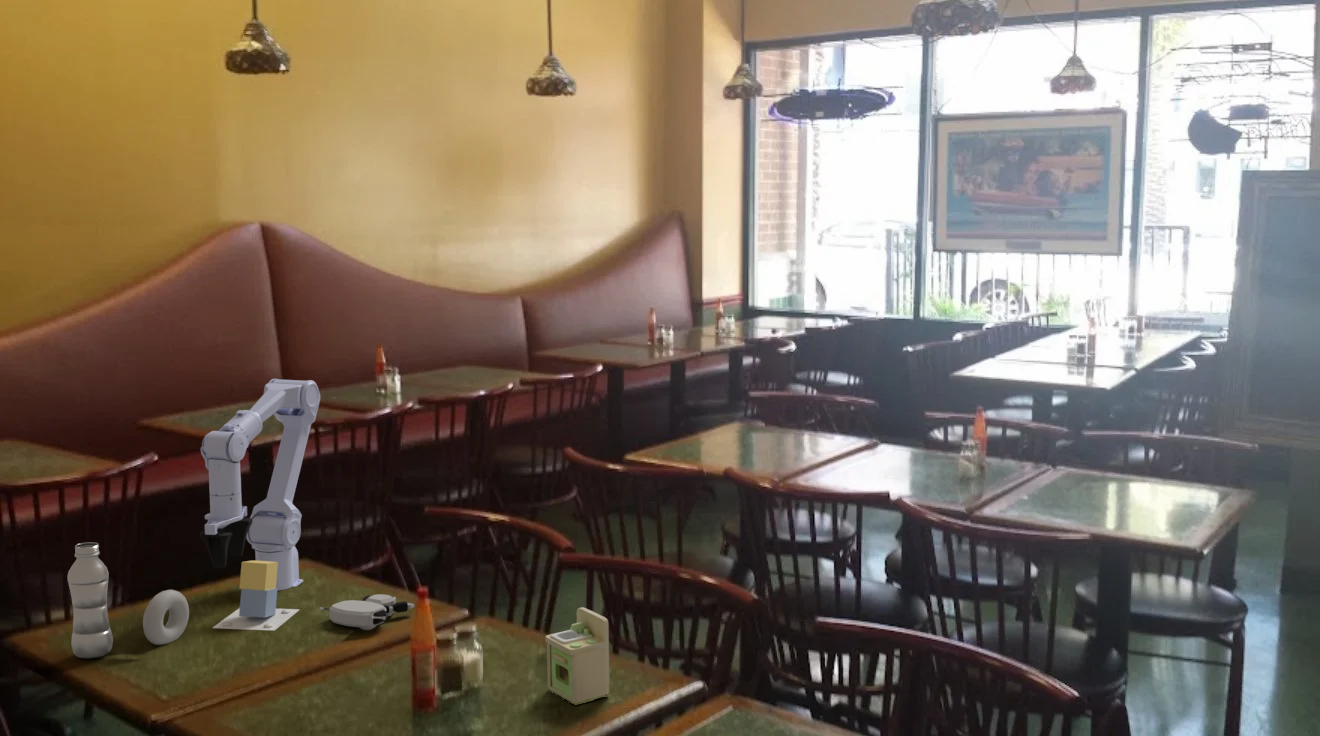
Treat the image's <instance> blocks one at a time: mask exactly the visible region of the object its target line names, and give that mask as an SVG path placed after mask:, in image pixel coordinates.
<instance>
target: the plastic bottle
mask: <svg viewBox="0 0 1320 736" xmlns="http://www.w3.org/2000/svg"><path fill="white" fill-rule="evenodd" d="M99 547H100V545H99V542H81V543H77V544H75V546H74V550H75V551H74V552H75V553H74V557H75V558H76V559H75V561H74V562H73V563H72V565H71V566H70V569H69V570H68V573H67V583H68V586H69V593H70V596H71V603H72V612H73V621H72V635H71V640H70V642H71V644H70V645H71V649H72V652H73V654H74V655H75V656H76V658H79V659H94V658H99V657H103V656H106V655H108V654H109V652H110V651H111V650H112V649H113V643H114V637H113V633H112V628H111V627H110V621H109V614H108V587H109V586H108V585H109V571H108V567H107V566H106V565H105V564H104V562H103V561H102V560H101V559H100V558H99V555H100V553H101V552H100V549H99Z"/></svg>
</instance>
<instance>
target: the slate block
mask: <svg viewBox="0 0 1320 736" xmlns="http://www.w3.org/2000/svg"><path fill="white" fill-rule="evenodd" d="M240 590H241V591H240V601H239V608H240V612H239V616H249V617H268V616H272V615H275V612H276V609H277V599H278V591H277V588H274V589H269V590H250V589H240Z"/></svg>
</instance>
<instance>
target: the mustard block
mask: <svg viewBox="0 0 1320 736" xmlns="http://www.w3.org/2000/svg"><path fill="white" fill-rule="evenodd" d="M240 565H241V568H240V577H239V579H240V580H239V590H241V589H250V590H269V589H274V588H276V580H277V568H278V562H271V561H256V559H255V560H253V559H252V560H247V561H241V564H240Z"/></svg>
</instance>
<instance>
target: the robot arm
mask: <svg viewBox="0 0 1320 736" xmlns="http://www.w3.org/2000/svg"><path fill="white" fill-rule="evenodd" d="M263 388H264V389H263V394H262V396H261V397H260V398H259V399H258V400H257V401H256V402H255V403H254V404H253V405H252V407H250V408H249V409H242V410H241V409H239V410H237V411H236V412H235V415H234V416H233V417H232V418H231V419H230V420H228V421H227V422H226V423H225V424H224V425H223V426H222V427H221V428H220V429H219V430H211V431H210V432H208V433H207V434H206V435H204V438H203V439H202V442H201V447H200V453H201V456H202V458H203V459H204V463H205V464H204V465H205V468H206V470H208V486H209V506H210V507H209V510H210V511H209V513H207V514H205V515H204V520H207V522H206V523H205V524H204V530H202V531H200V532H199V535H200V536H199V537H200V539H201V540H202V542H203V543H204V545H205V547H206V548H207V551H208V554H209V556H210V557H209V558H210V560H211V563H212V566H213V568H214V569H216V568H217V569H222V568H223V569H224V568H226V566H227V562H228V551H229V555H230V557H242V556H243V553H244V549H245V545H246V540H247V542H248V543H249V544H250V545H251V549H252V550H254V552H255V561H271V562H278V568H277V580H276V588H277V592H278V591H284V590H287V589H289V588H290V589H291V587H297V588H298V586H299V585H300V584H302V583H303V582H304V579H301V578H300V573H299V572H300V571H299V569H300V568H299V552H298V549H297V548H296V544H297V543H298V541H299V540H300V538H301V534H302V533H301V532H302V530H301V529H302V528H301V523H302V522H301V521H302V517H303V515H302V513H301V511H300V510H299V509H298V508H297V507H296V506H295V505H294V503H293V501H294V497H295V493H296V489H297V484H298V480H299V476H300V473H301V468H302V465H303V460H304V455H305V451H306V449H307V448H306V447H307V444H308V439H309V435H310V432H311V427H312V424H313V423H315V421H316V418H317V415H318V410H319V406H320V403H321V402H320V401H321V393H320V390H319V387H318V385H317V383H316V381H314V380H311V379H310V380H309V379H308V380H298V379H297V380H295V379H294V380H293V379H279V378H272V379H270V380H269V381H268V382H267V383H266V384H265V385H264V387H263ZM273 415H274V417H275V419H276V420H277V421H278V422H281V424H282V425H283V432H282V435H281V440H280V444H279V447H278V451H277V455H276V458H275V463H274V467H273V471H272V475H271V479H270V484H269V487H268V490H267V494H266V498H265V499H264V500H262V501H260V502H259V503H257V504H256V505H254V506H253V509H252V513H251V515H250V517H247V516H248V506H246V505H245V506H244V505H243V503H242V477H241V461H242V460H243V459H244V457H245V455H246V451H247V448H249V445H250V443H252V441H253V440H254V439H255V438H256V437H257V436H258V435H260V433H261V432H262V430H263V426H264V425H263V423H264V422H266V421H267V420H268V419H269V418H270V417H272V416H273Z"/></svg>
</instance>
